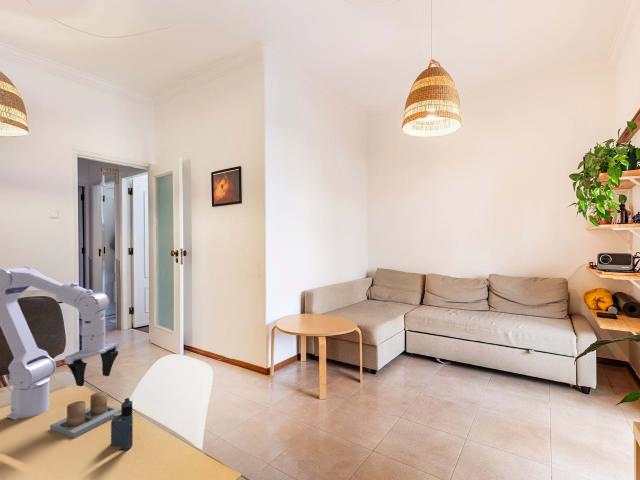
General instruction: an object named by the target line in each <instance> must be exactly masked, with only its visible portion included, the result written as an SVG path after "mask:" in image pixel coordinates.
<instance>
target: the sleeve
mask: <svg viewBox="0 0 640 480" xmlns="http://www.w3.org/2000/svg"><path fill="white" fill-rule="evenodd" d="M85 409H86V401H83V400H77V401H74V402H71V403H69V404H68V405H67V406H66V418H67V425H66V428H68V429H71V430H72V429H74V428H76V427H78V426H80V425H82V424H84V423H86V420H85Z"/></svg>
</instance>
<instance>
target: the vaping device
mask: <svg viewBox="0 0 640 480" xmlns="http://www.w3.org/2000/svg"><path fill="white" fill-rule="evenodd" d="M120 407H121V408H120V409H121V412H117V413H114V414H113V418H112V419H111V423H110V445H111V447H112V446H114V447H119V449H118V451H123V452H124V451H125V452H126V451H128V450H129V449H131V448H132V446H133V424H134V423H133V422H134V421H133V419H134V417H133V401H132V400H130V398H129V397H127V398H125V399H124V401H123V402H122V403H121V406H120Z"/></svg>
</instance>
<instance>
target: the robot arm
mask: <svg viewBox="0 0 640 480" xmlns="http://www.w3.org/2000/svg"><path fill="white" fill-rule="evenodd" d="M30 287H32V288H35V289H38V290H41V291H44V292H47V293H50V294H52V295H55V297H56V300H57V301H59V302H61V303H64V304H65V305H69V306H71V307H73V308H76V309H77V311H78V312H79V314H80V319H81V322H82V323H81V324H82V325H81V350H78V351H76V352H74V353H72V354H68V355H65V356H64V363H65V364H66V365H67V367H68V368H69V370H70V371H71V373H72V375H73V377H74V380H75V384H76V386H78V387H83V386H84V384H85V373H86V367H87V364H88V363H87V362H84V360H85V359H89V358H92V357H94V356H97V355H98V356H99V355H100V358H101V364H102V366H101V367H102V369H101V370H102V376H104V377H109V376H111V371H112V367H113V364H114V362H115V360H116V358H117V357H118V355H119V351H118V350H119V349H120V343H119V342H115V341H114V342H110V343H106V310H107V309H108V308H109V306H110V303H111V301H110V297H109V296H108V295H107V294H106V293H104V291H98V292H94V290H92V289H87V288H84V287H82V286H80V285H79V283H78V282H67V283H61V282H59V281H57V280H55V279H53V278H51V277H49V276H46V275H44V274H43V273H41V272H39V271H38V270H37V269H34V268H31V267H29V266H20V267H12V268H11V267H9V268H0V329H1V331H2V334H3V335H4V337H5V340H6V343H7V344H8V347H9V349H10V351H11V354H12V356H13V359H12V361H10V364H9V365H8V367H7V370H8V372H9V382H10V384H11V386H12V387H13V389H12V391H11V393H10V413H9V414H7V415H6V417H7V418H9V419H12V420H17V419H20V418H21V419H26V418H32V417H35V416H38V415H42V414H44V413H45V412H47V411H48V410H49V409H50V380H51V379H52V375H53V374H55V372H56V369H57V364H56V361H55V359H54V358H52V357H51V356H50V355H49V353H48V351H47V350H44V349H41V348H39V347H38V345H37V343H36V341H35V338H34V336H33V334H32V332H31V330H30V328H29V325H28V323H27V321H26V318H25V316H24V314H23V312H22V310H21V307H20V305H19V302H18V300H19V298H20V296H22V295H23V294H24V293H25V292H26V291H27V290H28V289H29V288H30Z"/></svg>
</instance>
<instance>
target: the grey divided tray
mask: <svg viewBox="0 0 640 480" xmlns="http://www.w3.org/2000/svg"><path fill="white" fill-rule="evenodd" d="M107 410H108V412H107V413H105V414H103V415H101V416H99V417H97V418H93V417H90V406H89V407H87V408H85V420H86V423H84V424H82V425H80V426H78V427H76V428H74V429H72V430H71V429H68V428H66V425H67V417H65V418H63V419H60V420H58V421H56V422H54V423H51V424H50V425H49V429H50V431H53V432H56V433H59V434H62V435H64V436H67V437H70V438H72V439H73V438H74V439H75V438H78V437H79V436H82V434H85V433H87V432H89V431H91V430H92V429H95V428H97V427H98V426H101V425H102V424H105V423H106V422H108V421H110V420H111V421H112V418H113V414H114V413H117V412H121V408H118V407H116V406H115V407H114V406H110V405H108V404H107Z"/></svg>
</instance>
